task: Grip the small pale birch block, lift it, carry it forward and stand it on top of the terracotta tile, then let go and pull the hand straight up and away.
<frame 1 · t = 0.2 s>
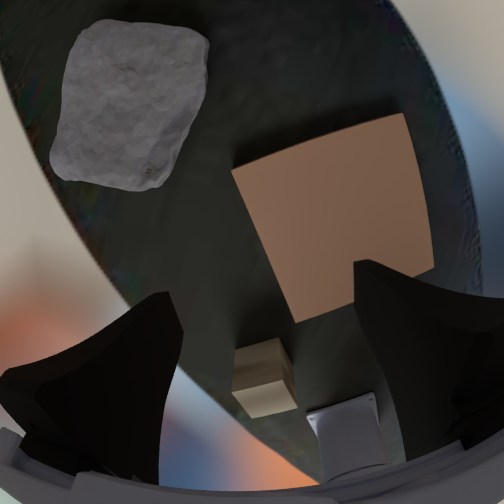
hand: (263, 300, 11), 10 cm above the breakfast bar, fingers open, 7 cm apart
birch block: (264, 358, 24), on the breakfast bar
stone block: (140, 104, 17), on the breakfast bar
terracotta tile: (343, 215, 20), on the breakfast bar
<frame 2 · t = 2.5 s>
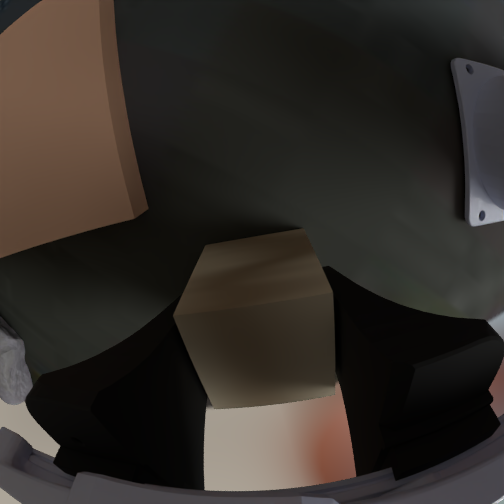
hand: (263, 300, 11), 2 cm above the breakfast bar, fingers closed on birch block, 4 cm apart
birch block: (262, 280, 12), on the breakfast bar, touching gripper
terracotta tile: (31, 125, 10), on the breakfast bar
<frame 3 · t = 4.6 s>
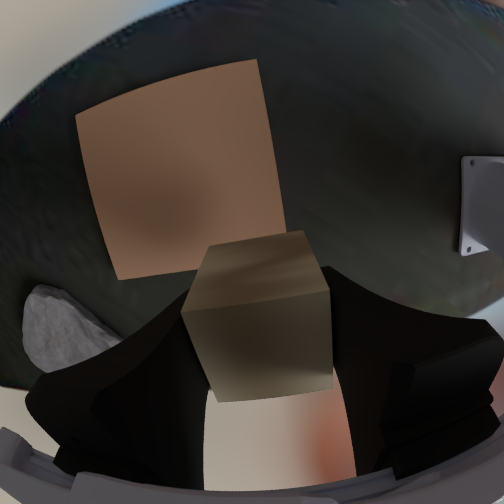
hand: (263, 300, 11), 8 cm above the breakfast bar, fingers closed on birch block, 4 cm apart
birch block: (263, 279, 13), point 6 cm above the breakfast bar, touching gripper
stone block: (82, 331, 23), on the breakfast bar
terracotta tile: (181, 173, 18), on the breakfast bar
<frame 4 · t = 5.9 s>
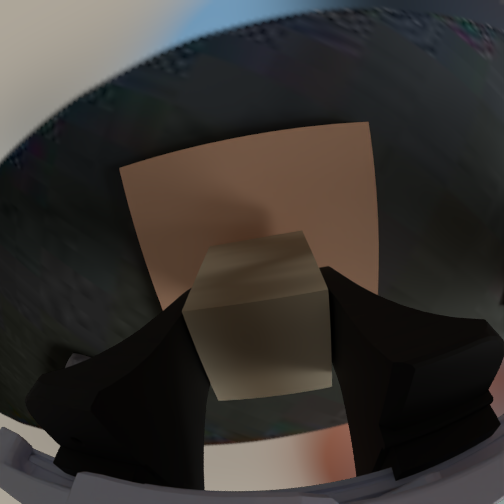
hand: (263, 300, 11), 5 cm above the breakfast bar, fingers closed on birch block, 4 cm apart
birch block: (263, 279, 13), point 3 cm above the breakfast bar, touching gripper
terracotta tile: (262, 246, 16), on the breakfast bar
when the fingers open (4 cm above the breakfast bar, at t = 6.9 s): birch block stays where it is, resting on terracotta tile.
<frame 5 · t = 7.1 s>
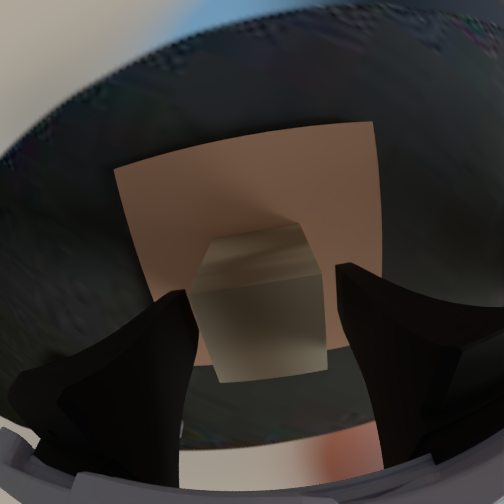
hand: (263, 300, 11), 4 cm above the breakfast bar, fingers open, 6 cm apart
birch block: (263, 270, 14), point 1 cm above the breakfast bar, touching terracotta tile
terracotta tile: (261, 250, 15), on the breakfast bar, touching birch block
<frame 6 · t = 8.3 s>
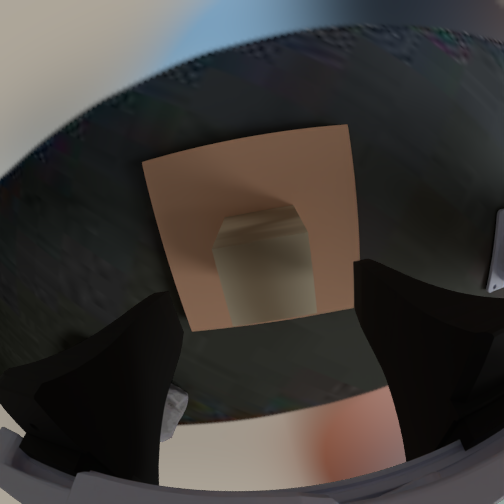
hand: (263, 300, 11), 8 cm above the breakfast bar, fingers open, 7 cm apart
birch block: (265, 243, 17), point 1 cm above the breakfast bar
stone block: (133, 380, 25), on the breakfast bar
terracotta tile: (260, 229, 19), on the breakfast bar
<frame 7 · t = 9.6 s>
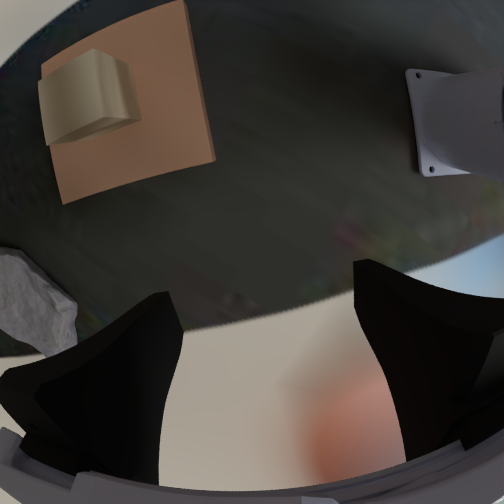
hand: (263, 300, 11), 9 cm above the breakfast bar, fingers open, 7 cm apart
birch block: (110, 102, 15), point 1 cm above the breakfast bar, touching terracotta tile
stone block: (38, 293, 23), on the breakfast bar
terracotta tile: (122, 102, 17), on the breakfast bar, touching birch block
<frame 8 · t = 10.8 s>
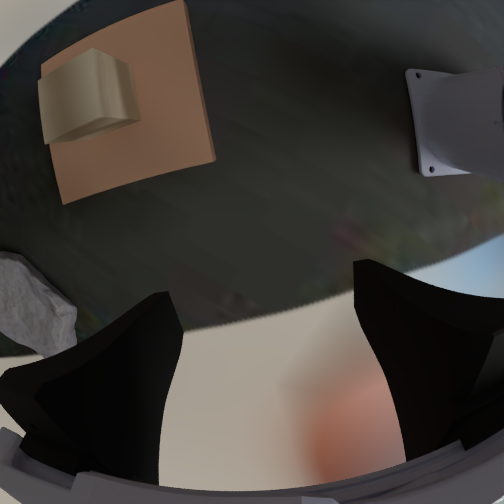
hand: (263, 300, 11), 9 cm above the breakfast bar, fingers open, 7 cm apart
birch block: (110, 102, 15), point 1 cm above the breakfast bar, touching terracotta tile
stone block: (38, 296, 23), on the breakfast bar
terracotta tile: (122, 102, 17), on the breakfast bar, touching birch block
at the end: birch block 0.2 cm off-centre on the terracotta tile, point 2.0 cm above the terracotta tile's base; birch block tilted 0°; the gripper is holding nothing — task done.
